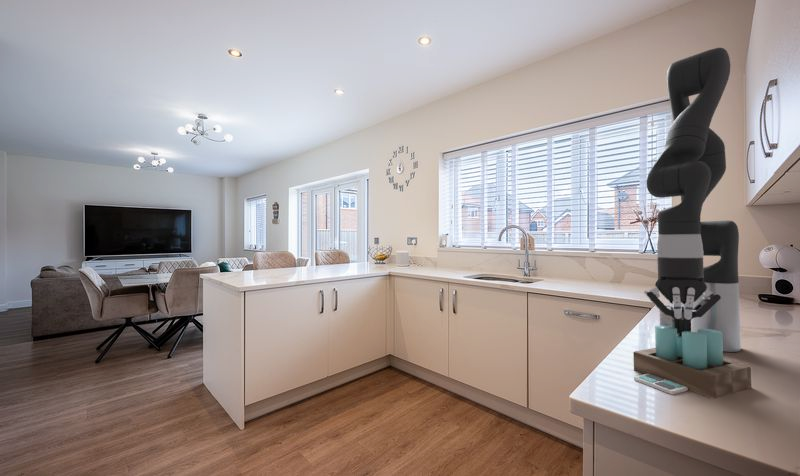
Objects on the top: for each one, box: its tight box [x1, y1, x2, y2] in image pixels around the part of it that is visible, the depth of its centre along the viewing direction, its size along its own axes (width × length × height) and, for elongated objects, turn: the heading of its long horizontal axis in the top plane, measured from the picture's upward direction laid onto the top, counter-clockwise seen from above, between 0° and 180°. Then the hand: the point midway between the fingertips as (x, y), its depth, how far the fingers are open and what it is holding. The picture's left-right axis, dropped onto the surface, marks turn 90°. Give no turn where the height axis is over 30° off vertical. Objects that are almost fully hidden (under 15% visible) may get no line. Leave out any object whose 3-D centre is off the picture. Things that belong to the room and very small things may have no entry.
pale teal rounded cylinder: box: [654, 325, 678, 361], centre depth 69 cm, size 4×4×8 cm
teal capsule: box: [677, 335, 682, 356], centre depth 70 cm, size 4×4×8 cm
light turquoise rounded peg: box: [682, 331, 707, 371], centre depth 64 cm, size 4×4×8 cm
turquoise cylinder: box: [698, 329, 724, 367], centre depth 66 cm, size 4×4×8 cm
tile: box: [633, 373, 689, 395], centre depth 64 cm, size 4×7×1 cm, turn 19°
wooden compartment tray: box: [632, 347, 752, 399], centre depth 67 cm, size 12×14×4 cm
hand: (681, 335), depth 70 cm, fingers closed
